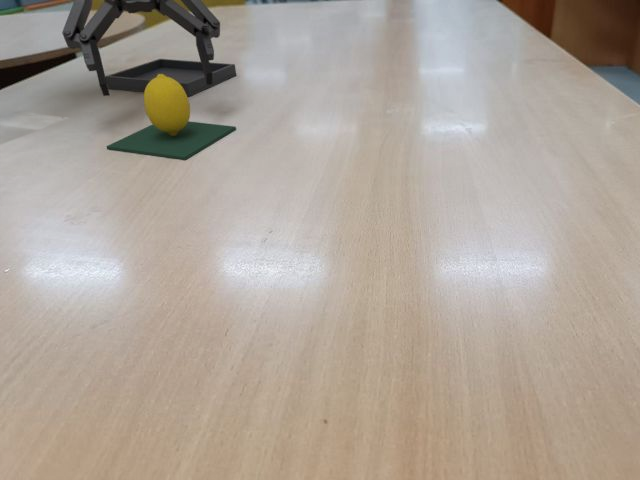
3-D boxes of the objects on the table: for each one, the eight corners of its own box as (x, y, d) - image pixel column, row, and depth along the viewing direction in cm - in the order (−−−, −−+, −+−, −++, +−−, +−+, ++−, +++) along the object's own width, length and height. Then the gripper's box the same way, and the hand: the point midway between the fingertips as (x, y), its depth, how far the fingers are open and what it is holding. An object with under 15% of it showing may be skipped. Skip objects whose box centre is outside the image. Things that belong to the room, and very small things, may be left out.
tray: (108, 88, 91) (104, 76, 90) (162, 69, 103) (159, 58, 102) (189, 96, 86) (187, 83, 85) (236, 75, 98) (234, 64, 97)
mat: (106, 149, 66) (106, 146, 66) (165, 121, 75) (164, 118, 75) (185, 160, 63) (184, 156, 62) (236, 129, 72) (235, 126, 72)
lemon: (163, 146, 66) (147, 81, 61) (145, 135, 69) (130, 73, 65) (202, 136, 69) (190, 74, 64) (184, 126, 72) (171, 66, 68)
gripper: (213, -32, 80) (247, 89, 77) (34, -26, 72) (64, 110, 69) (214, -73, 73) (251, 59, 70) (15, -72, 65) (47, 78, 62)
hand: (158, 84), depth 69 cm, fingers open, 13 cm apart
